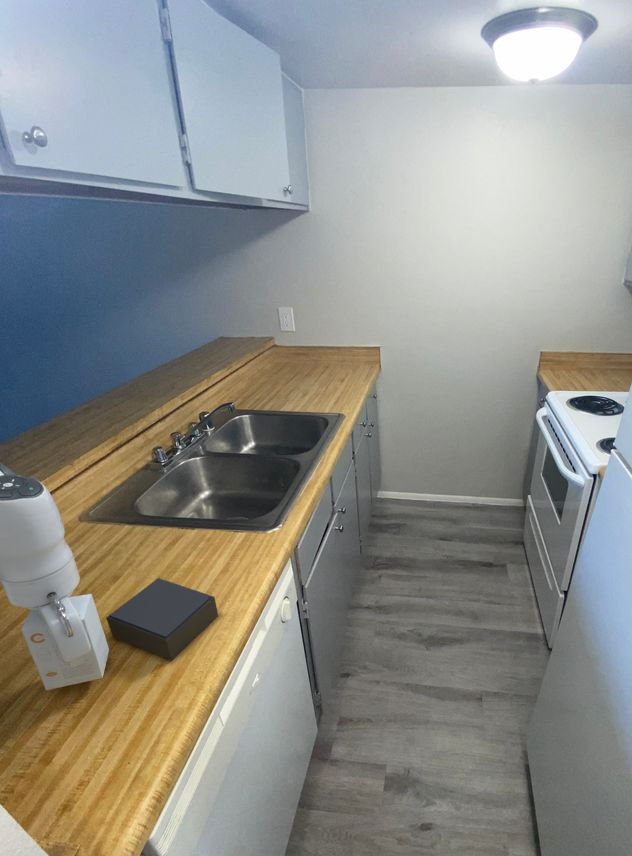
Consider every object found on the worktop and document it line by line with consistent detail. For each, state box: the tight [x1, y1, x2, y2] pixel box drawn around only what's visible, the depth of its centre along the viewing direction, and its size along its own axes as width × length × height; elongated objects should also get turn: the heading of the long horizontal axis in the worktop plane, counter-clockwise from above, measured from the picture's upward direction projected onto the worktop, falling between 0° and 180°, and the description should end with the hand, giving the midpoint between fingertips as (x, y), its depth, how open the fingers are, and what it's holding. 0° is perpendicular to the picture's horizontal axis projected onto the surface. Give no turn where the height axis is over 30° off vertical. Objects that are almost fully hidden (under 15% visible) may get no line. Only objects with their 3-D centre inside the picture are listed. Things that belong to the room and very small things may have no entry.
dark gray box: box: [105, 577, 219, 662], centre depth 89 cm, size 14×12×5 cm
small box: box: [20, 593, 110, 691], centre depth 76 cm, size 8×6×13 cm
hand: (67, 646), depth 76 cm, fingers closed on small box, 8 cm apart
